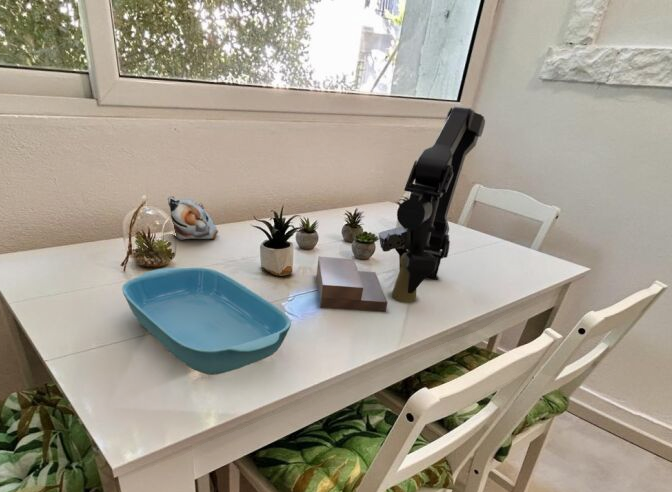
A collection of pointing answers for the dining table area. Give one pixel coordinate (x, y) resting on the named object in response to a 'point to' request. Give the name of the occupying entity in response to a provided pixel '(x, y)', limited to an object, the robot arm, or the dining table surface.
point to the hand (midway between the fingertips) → (405, 285)
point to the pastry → (284, 272)
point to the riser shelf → (348, 286)
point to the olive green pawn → (403, 285)
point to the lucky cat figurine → (191, 220)
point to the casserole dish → (206, 318)
